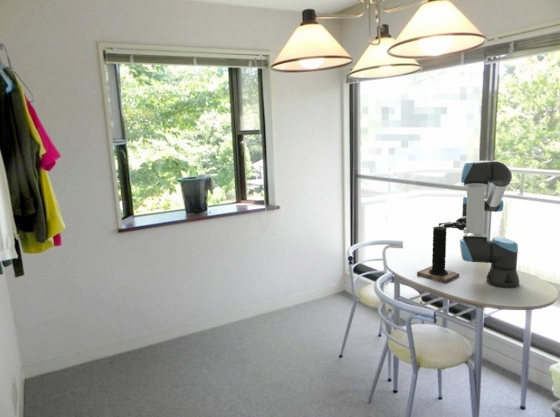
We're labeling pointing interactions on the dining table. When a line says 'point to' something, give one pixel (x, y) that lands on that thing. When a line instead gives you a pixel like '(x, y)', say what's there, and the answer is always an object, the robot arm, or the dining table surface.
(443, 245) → the handle grip
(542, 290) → the dining table surface
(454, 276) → the walnut plate
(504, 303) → the dining table surface
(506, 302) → the dining table surface
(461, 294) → the dining table surface
